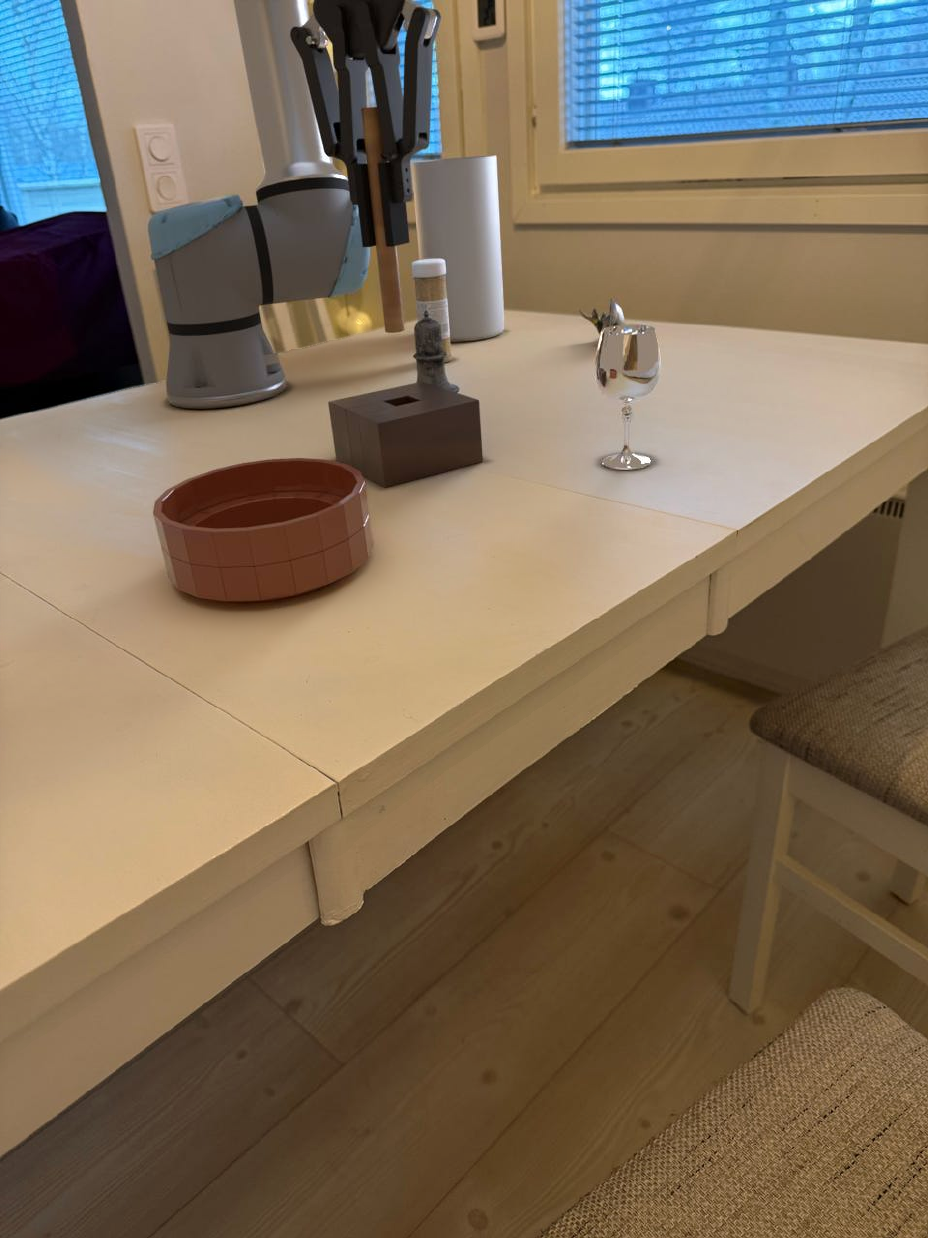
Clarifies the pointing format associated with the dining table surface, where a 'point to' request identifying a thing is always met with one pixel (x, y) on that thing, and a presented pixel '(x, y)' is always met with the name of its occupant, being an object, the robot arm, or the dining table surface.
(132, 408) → the dining table surface
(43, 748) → the dining table surface
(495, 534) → the dining table surface
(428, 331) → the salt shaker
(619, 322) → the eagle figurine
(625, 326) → the wineglass
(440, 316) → the sprinkles bottle
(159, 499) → the bowl
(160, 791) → the dining table surface
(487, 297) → the cylinder vase
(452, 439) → the stick stand
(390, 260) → the stirring stick
